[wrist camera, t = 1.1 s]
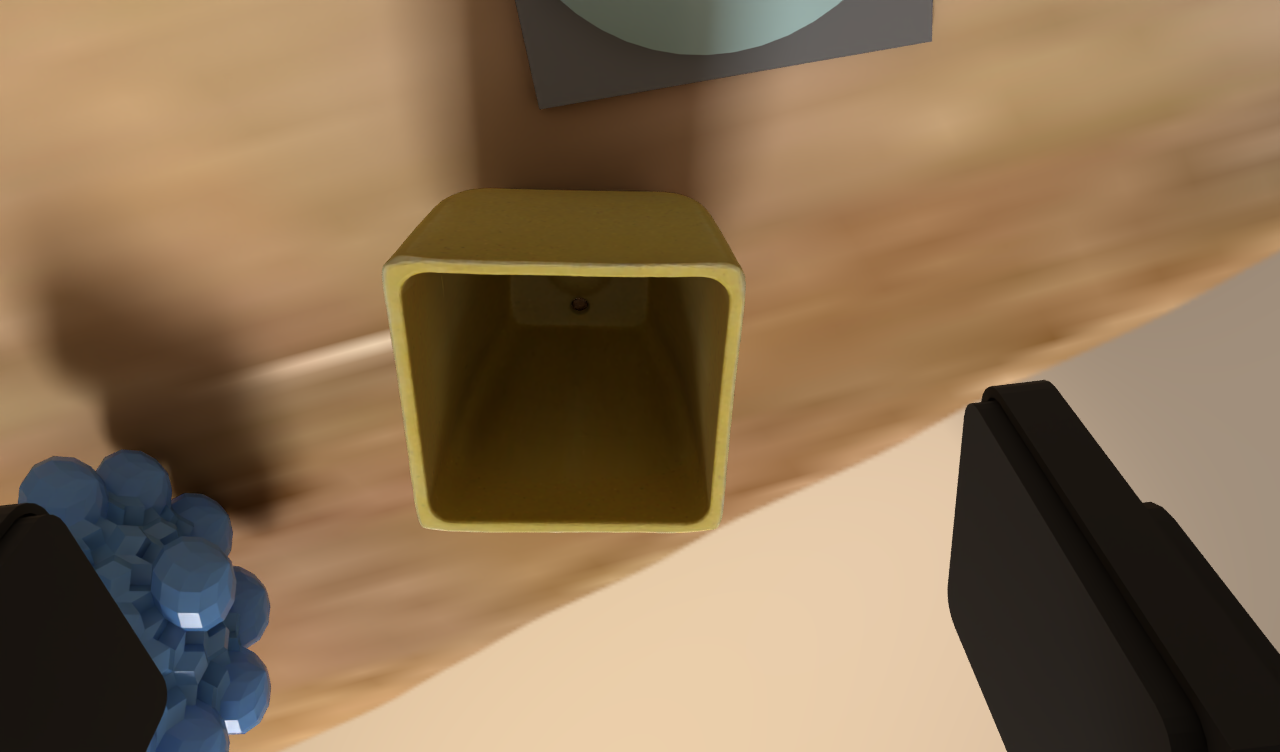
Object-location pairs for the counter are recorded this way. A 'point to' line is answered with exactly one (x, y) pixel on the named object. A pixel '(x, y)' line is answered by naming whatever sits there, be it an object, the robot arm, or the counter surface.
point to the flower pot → (566, 361)
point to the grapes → (169, 589)
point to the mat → (608, 66)
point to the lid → (700, 22)
